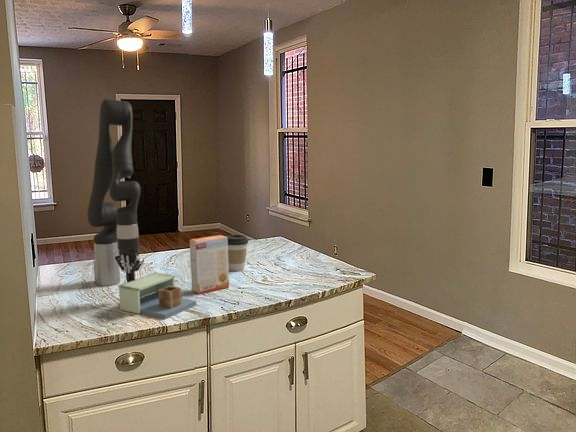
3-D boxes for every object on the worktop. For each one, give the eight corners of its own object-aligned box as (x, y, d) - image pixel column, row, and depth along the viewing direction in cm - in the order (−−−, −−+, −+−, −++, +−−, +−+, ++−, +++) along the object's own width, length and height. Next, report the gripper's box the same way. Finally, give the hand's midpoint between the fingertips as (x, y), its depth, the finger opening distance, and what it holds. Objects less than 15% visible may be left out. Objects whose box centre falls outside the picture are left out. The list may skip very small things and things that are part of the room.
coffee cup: (250, 266, 234) (250, 234, 231) (246, 272, 223) (246, 239, 220) (226, 265, 235) (226, 233, 232) (221, 272, 224) (220, 239, 221)
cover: (120, 309, 177) (118, 285, 176) (157, 294, 193) (156, 272, 191) (138, 313, 173) (137, 289, 171) (175, 298, 188) (174, 275, 187)
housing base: (122, 308, 178) (121, 293, 177) (155, 296, 192) (154, 282, 191) (165, 319, 168) (164, 303, 168) (196, 304, 182) (195, 290, 181)
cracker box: (222, 284, 207) (220, 234, 203) (229, 287, 202) (228, 236, 198) (190, 290, 198) (189, 238, 195) (197, 294, 194) (196, 241, 190)
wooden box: (159, 306, 177) (158, 289, 176) (169, 301, 181) (169, 285, 180) (170, 308, 174) (170, 292, 173) (181, 304, 179) (180, 287, 178)
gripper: (148, 236, 183) (151, 282, 186) (123, 232, 189) (125, 277, 192) (133, 239, 176) (135, 287, 179) (106, 236, 183) (109, 282, 186)
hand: (130, 282), depth 186 cm, fingers closed
